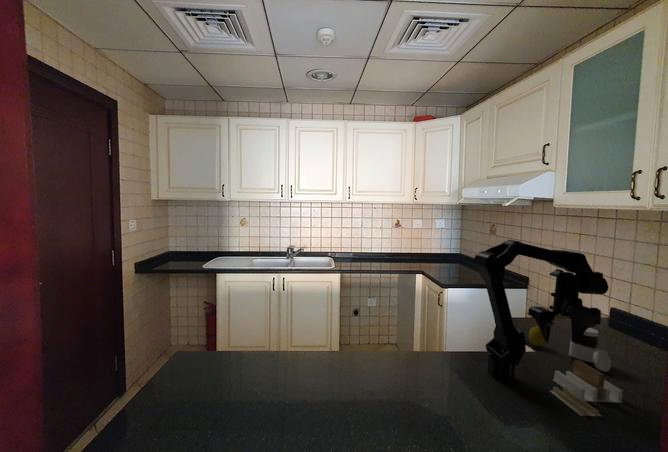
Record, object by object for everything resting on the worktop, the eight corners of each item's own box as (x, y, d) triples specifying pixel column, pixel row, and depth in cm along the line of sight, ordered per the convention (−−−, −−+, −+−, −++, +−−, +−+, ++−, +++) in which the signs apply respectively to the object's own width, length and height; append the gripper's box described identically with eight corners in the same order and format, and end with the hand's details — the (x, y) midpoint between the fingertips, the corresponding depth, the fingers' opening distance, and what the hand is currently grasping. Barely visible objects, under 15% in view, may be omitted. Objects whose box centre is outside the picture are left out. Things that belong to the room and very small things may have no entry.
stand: (580, 418, 74) (581, 410, 74) (549, 393, 84) (550, 386, 84) (601, 419, 74) (602, 411, 74) (568, 394, 84) (568, 387, 84)
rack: (581, 403, 80) (582, 390, 80) (552, 381, 90) (553, 369, 90) (622, 405, 81) (624, 391, 80) (589, 383, 91) (591, 371, 90)
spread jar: (570, 352, 112) (573, 322, 112) (610, 364, 104) (615, 332, 104) (565, 362, 104) (569, 329, 103) (609, 376, 96) (613, 341, 95)
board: (596, 399, 81) (599, 374, 81) (571, 382, 89) (574, 359, 89) (601, 399, 81) (604, 375, 81) (576, 382, 89) (579, 360, 89)
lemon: (547, 350, 112) (550, 329, 112) (531, 348, 113) (534, 327, 113) (540, 344, 118) (543, 324, 117) (525, 341, 119) (527, 322, 118)
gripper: (558, 298, 81) (551, 354, 82) (622, 302, 82) (615, 357, 83) (529, 287, 92) (524, 336, 93) (586, 291, 93) (580, 339, 94)
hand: (560, 342), depth 90 cm, fingers open, 9 cm apart
